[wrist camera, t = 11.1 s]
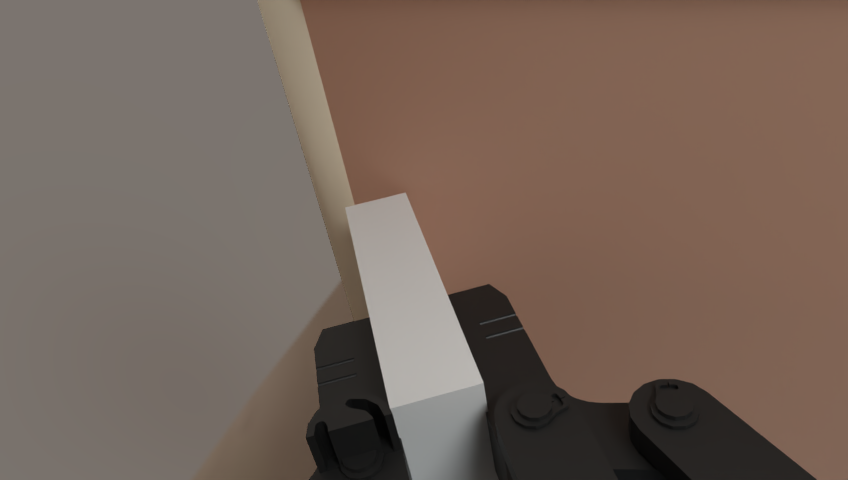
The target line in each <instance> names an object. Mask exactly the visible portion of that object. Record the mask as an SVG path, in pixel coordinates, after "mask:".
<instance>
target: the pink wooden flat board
mask: <svg viewBox="0 0 848 480" xmlns="http://www.w3.org/2000/svg"><path fill="white" fill-rule="evenodd" d="M257 1H258V4H259V8H260V10H261V14H262V18H263V21H264V24H265V28H266V31H267V34H268V38H269V41H270V44H271V47H272V51H273V54H274V57H275V61H276V64H277V67H278V70H279V74H280V77H281V81H282V84H283V87H284V91H285V93H286V97H287V100H288V104H289V107H290V110H291V114H292V117H293V120H294V124H295V127H296V130H297V133H298V137H299V140H300V143H301V147H302V150H303V153H304V157H305V160H306V163H307V166H308V170H309V173H310V177H311V180H312V183H313V186H314V190H315V193H316V196H317V200H318V203H319V206H320V210H321V213H322V216H323V220H324V223H325V226H326V229H327V233H328V236H329V239H330V243H331V246H332V249H333V253H334V256H335V259H336V263H337V266H338V269H339V272H340V276H341V279H342V282H343V286H344V289H345V292H346V296H347V299H348V302H349V306H350V309H351V312H352V316H353V319H354V321H357V320H361V319H365V318H368V317H369V313H368V308H367V304H366V299H365V295H364V290H363V286H362V281H361V277H360V272H359V268H358V263H357V259H356V254H355V250H354V245H353V241H352V236H351V232H350V227H349V223H348V218H347V214H346V209H345V207H349V206H353V205H357V204H361V203H365V202H369V201H373V200H377V199H381V198H385V197H389V196H393V195H397V194H401V193H406V195H407V197H408V200H409V202H410V204H411V207H412V209H413V212H414V214H415V217H416V219H417V222H418V224H419V226H420V229H421V231H422V234H423V236H424V239H425V241H426V244H427V246H428V248H429V251H430V253H431V256H432V258H433V261H434V263H435V265H436V268H437V270H438V273H439V275H440V278H441V280H442V283H443V285H444V287H445V290H446V292H447V295H449V294H453V293H457V292H461V291H464V290H468V289H472V288H476V287H479V286H483V285H487V284H490V285H491V286H493V287H494V288H496V289H497V290H499V291H500V292H502V293H503V294H504V295H506V296H507V298H508V300H509V301H510V303H511V305H512V307H513V309H514V311H515V313H516V316H518V318H519V320H520V322H521V324H522V325H523V329H524V330H525V331H526V333H527V335H528V337H529V338H530V340H531V342H532V344H533V346H534V348H535V350H536V351H537V353H538V355H539V357H540V359H541V361H542V363H543V364H544V366H545V368H546V370H547V372H548V374H549V375H550V377H551V379H552V380H553V382H554V383H555V384H556V386H558V387H560V388H562V389H564V390H565V391H566V392H567V393H568V394H569V395H570V396H572V397H574V398H577V399H580V400H584V401H588V402H598V403H629V402H630V400H631V397H632V395H633V392H635V391H636V390H637V389H638V388H639V387H641V386H642V385H643V384H645V383H648V382H651V381H654V380H657V379H678V380H682V381H685V382H689V383H693V384H695V385H696V386H698V387H700V388H701V389H703V390H705V391H707V392H708V393H709V394H711V395H712V396H713V397H714V398H716V399H717V400H718V401H719V402H721V403H722V404H723V405H724V406H726V407H727V408H728V409H729V410H731V411H732V412H733V413H734V414H736V415H737V416H738V417H739V418H741V419H742V420H743V421H744V422H746V423H747V424H748V425H749V426H751V427H752V428H753V429H754V430H756V431H757V432H758V433H759V434H761V435H762V436H763V437H764V438H766V439H767V440H768V441H769V442H771V443H772V444H773V445H774V446H776V447H777V448H778V449H779V450H781V451H782V452H783V453H784V454H786V455H787V456H788V457H789V458H791V459H792V460H793V461H794V462H796V463H797V464H798V465H799V466H801V467H802V468H803V469H804V470H806V471H807V472H808V473H809V474H811V475H812V476H813V477H814V478H816V479H817V480H848V0H257Z"/></svg>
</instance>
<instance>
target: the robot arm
mask: <svg viewBox="0 0 848 480" xmlns="http://www.w3.org/2000/svg"><path fill="white" fill-rule="evenodd" d="M345 209H346V214H347V218H348V223H349V227H350V232H351V236H352V241H353V245H354V250H355V254H356V259H357V263H358V268H359V272H360V277H361V281H362V286H363V290H364V295H365V299H366V304H367V308H368V313H369V317H368V318H365V319H361V320H357V321H353V322H349V323H346V324H342V325H338V326H334V327H331V328H327V329H323V330H322V332H321V335H320V337H319V339H318V341H317V344H316V346H315V348H314V351H315V362H316V369H317V382H318V392H319V403H320V409H319V410H318V411H316V413H315V414H314V416H313V418H312V419H311V421H310V422H309V424H308V428H307V434H306V440H307V442H308V445H309V447H310V450H311V452H312V455H313V457H314V460H315V462H316V465H317V469H316V471H315V472H314V474H313V475H312V476H311V478H310V479H309V480H817V479H816V478H814V477H813V476H812V475H811V474H809V473H808V472H807V471H806V470H804V469H803V468H802V467H801V466H799V465H798V464H797V463H796V462H794V461H793V460H792V459H791V458H789V457H788V456H787V455H786V454H784V453H783V452H782V451H781V450H779V449H778V448H777V447H776V446H774V445H773V444H772V443H771V442H769V441H768V440H767V439H766V438H764V437H763V436H762V435H761V434H759V433H758V432H757V431H756V430H754V429H753V428H752V427H751V426H749V425H748V424H747V423H746V422H744V421H743V420H742V419H741V418H739V417H738V416H737V415H736V414H734V413H733V412H732V411H731V410H729V409H728V408H727V407H726V406H724V405H723V404H722V403H721V402H719V401H718V400H717V399H716V398H714V397H713V396H712V395H711V394H709V393H708V392H707V391H705V390H703V389H701V388H700V387H698V386H696V385H695V384H693V383H689V382H685V381H682V380H678V379H657V380H654V381H651V382H648V383H645V384H643V385H642V386H641V387H639V388H638V389H637V390H636V391H635V392H633V395H632V397H631V400H630V402H629V403H598V402H588V401H584V400H580V399H577V398H574V397H572V396H570V395H569V394H568V393H567V392H566V391H565V390H564V389H562V388H560V387H558V386H556V384H555V383H554V382H553V380H552V379H551V377H550V375H549V374H548V372H547V370H546V368H545V366H544V364H543V363H542V361H541V359H540V357H539V355H538V353H537V351H536V350H535V348H534V346H533V344H532V342H531V340H530V338H529V337H528V335H527V333H526V331H525V330H524V329H523V325H522V324H521V322H520V320H519V318H518V316H516V313H515V311H514V309H513V307H512V305H511V303H510V301H509V300H508V298H507V296H506V295H504V294H503V293H502V292H500V291H499V290H497V289H496V288H494V287H493V286H491V285H490V284H487V285H483V286H479V287H476V288H472V289H468V290H464V291H461V292H457V293H453V294H449V295H447V292H446V290H445V287H444V285H443V283H442V280H441V278H440V275H439V273H438V270H437V268H436V265H435V263H434V261H433V258H432V256H431V253H430V251H429V248H428V246H427V244H426V241H425V239H424V236H423V234H422V231H421V229H420V226H419V224H418V222H417V219H416V217H415V214H414V212H413V209H412V207H411V204H410V202H409V200H408V197H407V195H406V193H401V194H397V195H393V196H389V197H385V198H381V199H377V200H373V201H369V202H365V203H361V204H357V205H353V206H349V207H345Z"/></svg>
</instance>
